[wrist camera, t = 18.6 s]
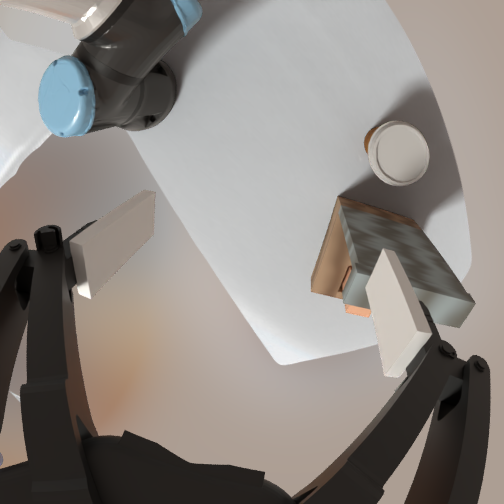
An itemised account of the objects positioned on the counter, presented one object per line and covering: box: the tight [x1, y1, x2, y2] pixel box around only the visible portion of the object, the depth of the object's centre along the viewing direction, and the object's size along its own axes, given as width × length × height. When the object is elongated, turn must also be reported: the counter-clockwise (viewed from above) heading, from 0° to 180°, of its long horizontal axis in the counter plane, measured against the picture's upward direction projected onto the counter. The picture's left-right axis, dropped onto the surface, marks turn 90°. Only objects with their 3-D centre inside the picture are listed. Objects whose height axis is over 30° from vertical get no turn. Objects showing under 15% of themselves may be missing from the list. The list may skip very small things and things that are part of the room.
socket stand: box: [311, 196, 475, 328], centre depth 42 cm, size 17×18×26 cm
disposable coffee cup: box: [364, 121, 429, 186], centre depth 39 cm, size 10×10×12 cm
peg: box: [342, 266, 371, 318], centre depth 51 cm, size 4×4×12 cm
